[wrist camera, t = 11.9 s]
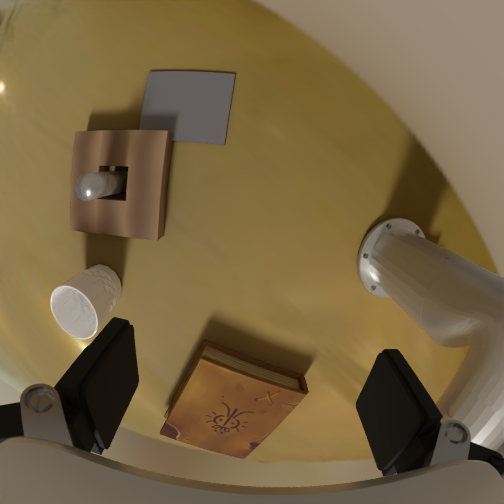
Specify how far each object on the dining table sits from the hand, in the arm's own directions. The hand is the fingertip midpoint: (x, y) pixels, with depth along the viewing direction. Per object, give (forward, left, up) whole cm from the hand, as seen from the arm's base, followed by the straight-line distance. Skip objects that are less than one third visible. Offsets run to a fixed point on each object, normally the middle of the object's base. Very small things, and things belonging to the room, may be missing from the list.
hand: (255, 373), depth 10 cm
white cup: (+21, +12, -30) cm, 38 cm away
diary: (-1, +33, -30) cm, 45 cm away
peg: (+18, -4, -29) cm, 35 cm away
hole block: (+18, -4, -29) cm, 35 cm away
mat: (+10, -15, -29) cm, 34 cm away
